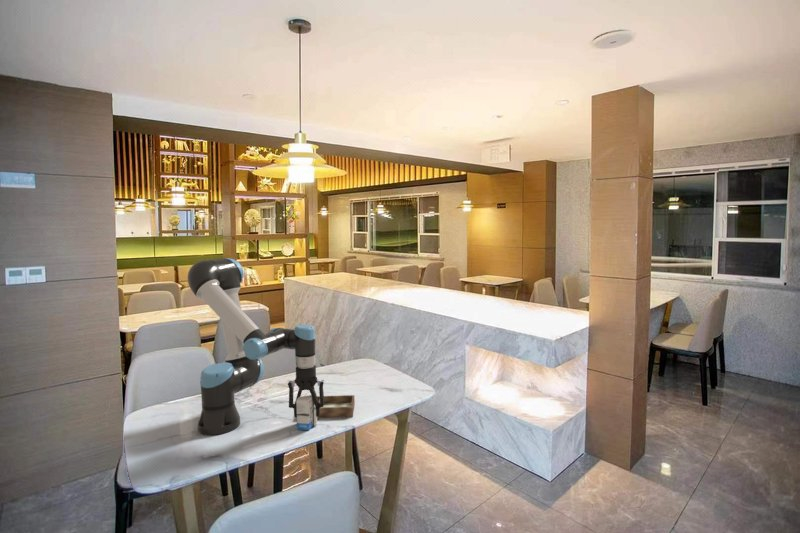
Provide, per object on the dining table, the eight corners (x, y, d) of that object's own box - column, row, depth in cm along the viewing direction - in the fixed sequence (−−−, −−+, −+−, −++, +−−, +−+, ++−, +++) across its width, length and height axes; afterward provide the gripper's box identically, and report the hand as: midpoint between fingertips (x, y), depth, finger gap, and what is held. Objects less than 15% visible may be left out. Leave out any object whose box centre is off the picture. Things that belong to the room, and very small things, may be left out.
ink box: (308, 430, 164) (308, 400, 163) (296, 429, 165) (295, 399, 164) (317, 421, 173) (316, 392, 171) (305, 419, 173) (305, 391, 172)
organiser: (302, 418, 175) (302, 408, 175) (307, 405, 188) (307, 396, 188) (352, 417, 176) (352, 407, 176) (354, 404, 189) (354, 395, 189)
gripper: (278, 369, 163) (280, 429, 165) (329, 368, 163) (330, 428, 165) (282, 363, 170) (284, 420, 172) (331, 362, 171) (332, 419, 173)
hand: (307, 424), depth 169 cm, fingers closed on ink box, 6 cm apart
